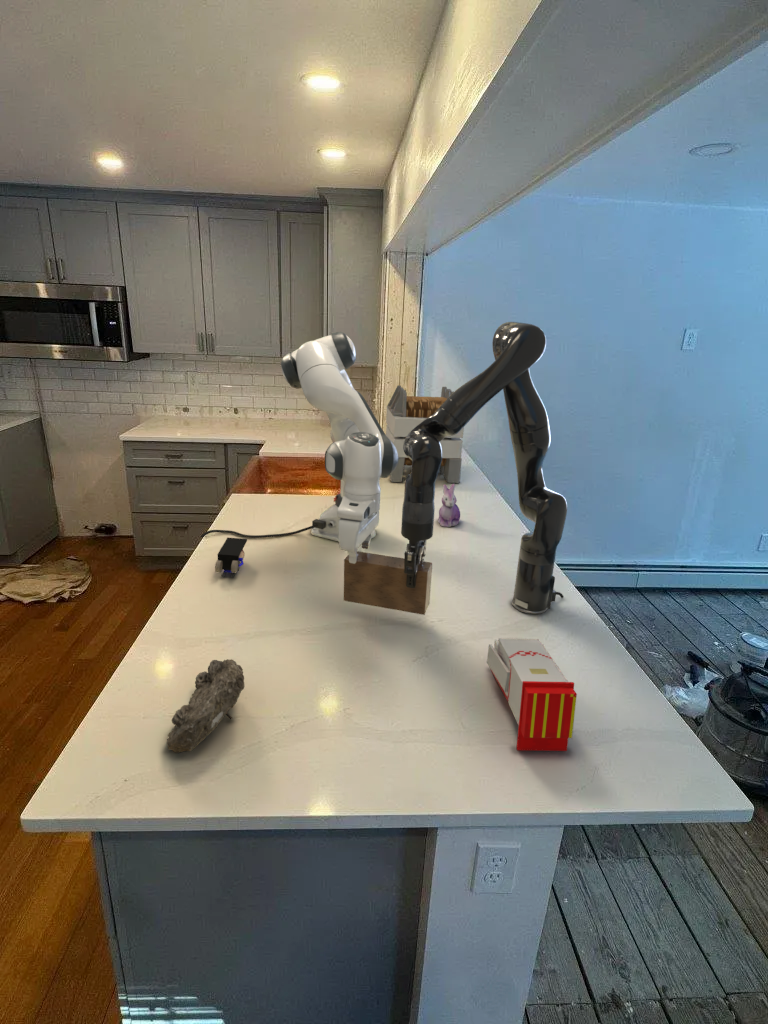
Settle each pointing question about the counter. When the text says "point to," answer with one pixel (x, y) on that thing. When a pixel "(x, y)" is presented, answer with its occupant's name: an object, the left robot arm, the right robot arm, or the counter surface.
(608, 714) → the counter surface
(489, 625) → the counter surface
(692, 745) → the counter surface
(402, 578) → the box
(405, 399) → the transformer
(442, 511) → the figurine
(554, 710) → the toy
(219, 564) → the black wheeled rover
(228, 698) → the fossil
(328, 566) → the counter surface
